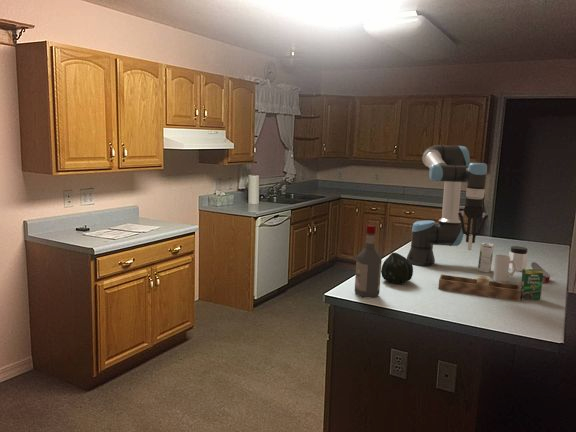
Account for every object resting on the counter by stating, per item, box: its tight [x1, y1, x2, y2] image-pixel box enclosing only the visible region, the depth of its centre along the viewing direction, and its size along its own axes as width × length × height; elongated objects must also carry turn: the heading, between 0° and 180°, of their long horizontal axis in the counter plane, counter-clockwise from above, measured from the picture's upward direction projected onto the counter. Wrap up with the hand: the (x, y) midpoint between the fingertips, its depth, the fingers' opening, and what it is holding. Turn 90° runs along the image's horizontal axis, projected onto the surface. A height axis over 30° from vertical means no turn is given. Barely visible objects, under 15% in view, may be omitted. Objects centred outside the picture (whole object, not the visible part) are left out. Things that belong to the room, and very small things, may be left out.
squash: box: [381, 252, 414, 285], centre depth 227 cm, size 14×15×15 cm
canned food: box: [530, 261, 551, 284], centre depth 240 cm, size 11×10×10 cm
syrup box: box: [477, 242, 495, 273], centre depth 253 cm, size 6×6×14 cm
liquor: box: [354, 224, 382, 298], centre depth 204 cm, size 9×9×30 cm
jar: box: [508, 245, 529, 272], centre depth 259 cm, size 9×8×12 cm
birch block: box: [476, 275, 490, 286], centre depth 215 cm, size 5×5×4 cm
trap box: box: [437, 273, 521, 302], centre depth 216 cm, size 34×10×4 cm, turn 67°
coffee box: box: [520, 268, 543, 301], centre depth 208 cm, size 8×3×13 cm, turn 90°
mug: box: [493, 254, 517, 282], centre depth 236 cm, size 10×7×12 cm, turn 55°
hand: (469, 249), depth 217 cm, fingers closed
